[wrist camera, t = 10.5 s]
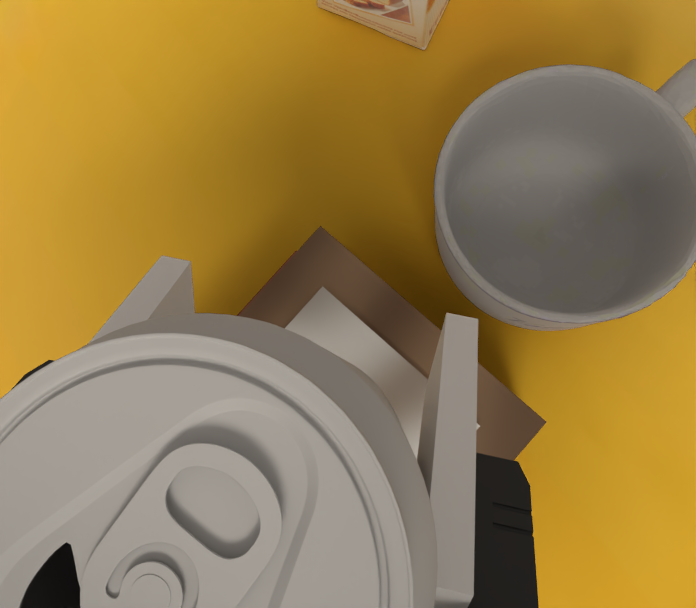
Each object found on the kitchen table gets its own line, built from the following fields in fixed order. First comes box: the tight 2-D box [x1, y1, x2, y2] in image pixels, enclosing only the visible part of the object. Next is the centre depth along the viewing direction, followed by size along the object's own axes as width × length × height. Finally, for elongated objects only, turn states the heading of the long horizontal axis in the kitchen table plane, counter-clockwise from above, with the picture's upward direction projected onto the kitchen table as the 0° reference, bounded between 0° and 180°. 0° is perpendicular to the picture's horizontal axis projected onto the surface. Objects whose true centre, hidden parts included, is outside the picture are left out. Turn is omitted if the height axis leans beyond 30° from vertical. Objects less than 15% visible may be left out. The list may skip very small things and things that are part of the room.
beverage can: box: [0, 313, 438, 608], centre depth 12 cm, size 6×6×12 cm
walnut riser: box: [237, 226, 546, 460], centre depth 27 cm, size 13×13×5 cm
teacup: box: [434, 59, 696, 331], centre depth 26 cm, size 14×11×8 cm
